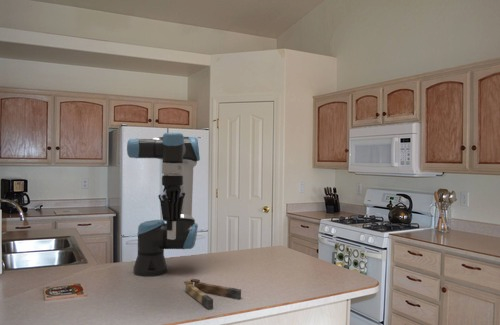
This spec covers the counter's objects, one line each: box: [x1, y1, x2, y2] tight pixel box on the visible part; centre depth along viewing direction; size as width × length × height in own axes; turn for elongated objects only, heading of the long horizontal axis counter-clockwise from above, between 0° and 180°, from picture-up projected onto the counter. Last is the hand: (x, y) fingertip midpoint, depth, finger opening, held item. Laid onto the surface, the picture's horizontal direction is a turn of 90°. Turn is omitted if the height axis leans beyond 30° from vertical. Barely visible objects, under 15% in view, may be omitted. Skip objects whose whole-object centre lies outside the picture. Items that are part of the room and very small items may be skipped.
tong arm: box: [183, 279, 214, 310], centre depth 148 cm, size 22×2×4 cm, turn 31°
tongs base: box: [189, 278, 242, 300], centre depth 154 cm, size 23×4×4 cm, turn 63°
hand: (171, 238), depth 147 cm, fingers closed
